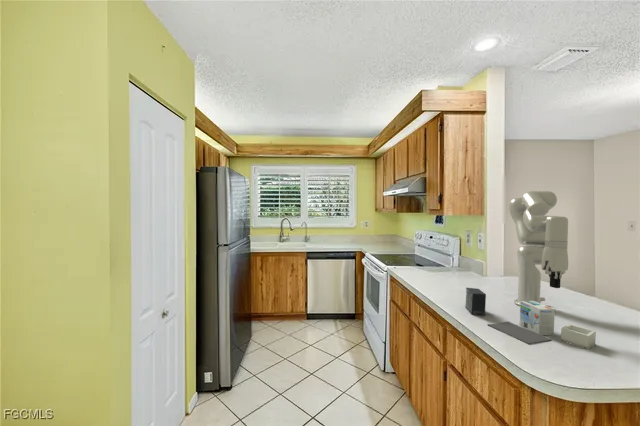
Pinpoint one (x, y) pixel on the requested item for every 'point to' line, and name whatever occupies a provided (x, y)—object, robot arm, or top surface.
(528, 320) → the light bulb box
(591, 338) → the grey tub
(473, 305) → the small box
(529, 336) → the mat
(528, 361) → the top surface
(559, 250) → the robot arm
